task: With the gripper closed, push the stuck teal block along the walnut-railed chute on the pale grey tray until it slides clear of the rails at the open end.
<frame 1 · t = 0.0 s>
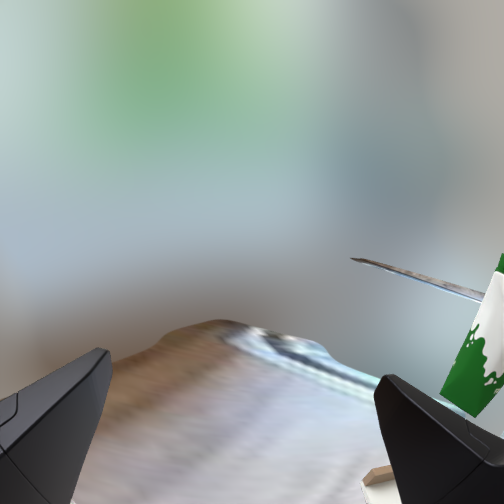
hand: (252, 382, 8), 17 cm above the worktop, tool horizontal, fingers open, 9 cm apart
milk carton: (464, 397, 29), on the worktop
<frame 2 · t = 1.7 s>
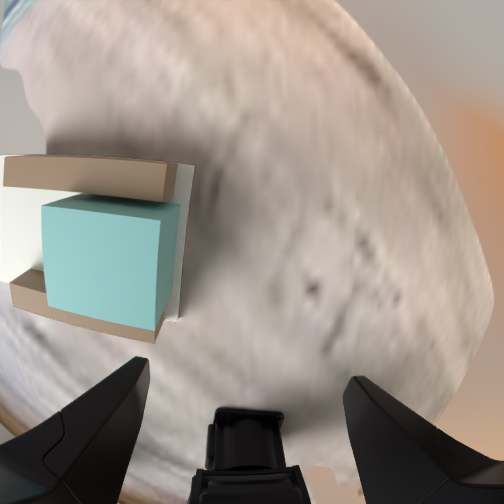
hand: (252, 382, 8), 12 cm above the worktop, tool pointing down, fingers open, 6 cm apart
block: (111, 254, 16), point 3 cm above the worktop, slide at 0.0 cm
chute: (49, 227, 18), on the worktop
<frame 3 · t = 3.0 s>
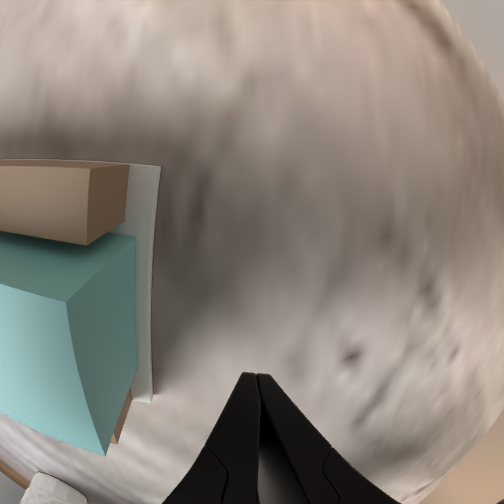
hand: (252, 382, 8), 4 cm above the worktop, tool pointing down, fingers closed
white cup: (61, 486, 19), on the worktop
block: (31, 324, 8), point 3 cm above the worktop, slide at 0.0 cm
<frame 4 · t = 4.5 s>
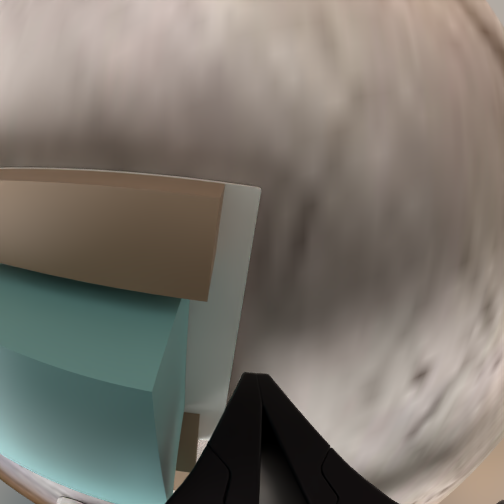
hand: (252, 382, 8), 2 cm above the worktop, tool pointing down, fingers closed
block: (62, 375, 7), point 3 cm above the worktop, slide at 1.1 cm, touching gripper
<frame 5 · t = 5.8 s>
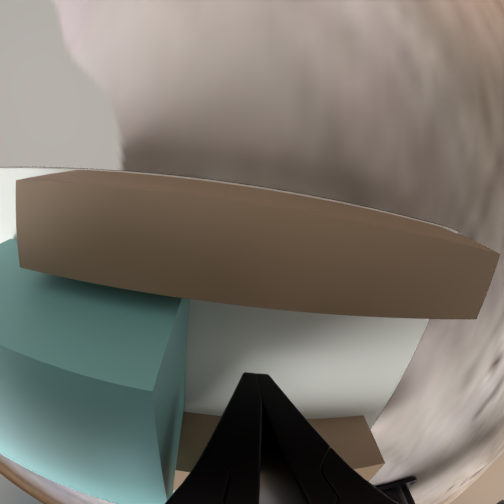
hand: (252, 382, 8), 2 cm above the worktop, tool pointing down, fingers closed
block: (62, 375, 7), point 3 cm above the worktop, slide at 8.6 cm, touching gripper
chute: (137, 329, 10), on the worktop
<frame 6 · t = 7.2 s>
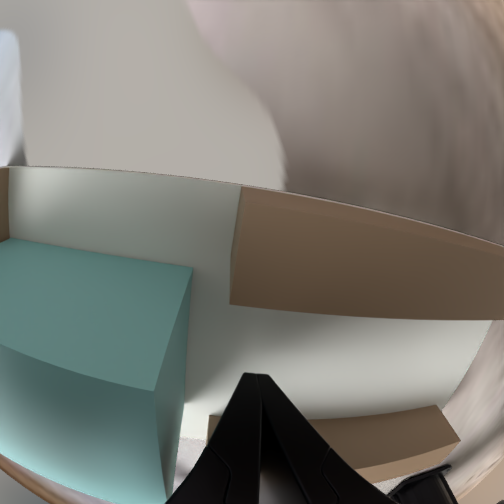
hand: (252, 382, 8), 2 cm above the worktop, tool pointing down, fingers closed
block: (62, 374, 7), point 3 cm above the worktop, slide at 13.5 cm, touching gripper
chute: (272, 347, 10), on the worktop
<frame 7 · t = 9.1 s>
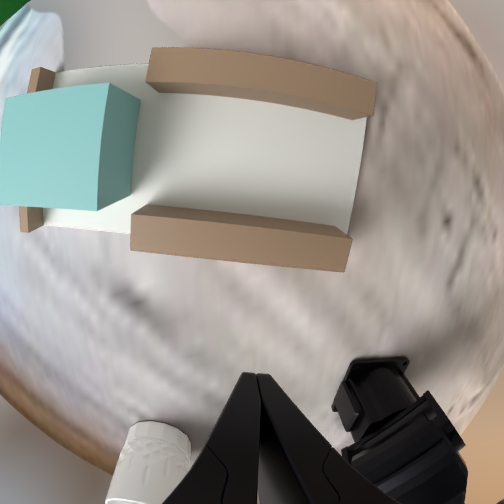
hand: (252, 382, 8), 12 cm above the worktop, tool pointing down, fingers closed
white cup: (160, 436, 26), on the worktop
block: (66, 147, 13), point 3 cm above the worktop, slide at 13.6 cm
chute: (184, 150, 17), on the worktop
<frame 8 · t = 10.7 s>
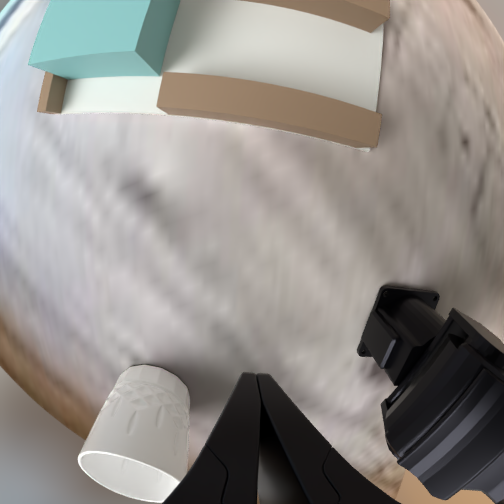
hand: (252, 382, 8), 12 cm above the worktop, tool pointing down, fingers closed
white cup: (154, 389, 23), on the worktop
block: (107, 24, 11), point 3 cm above the worktop, slide at 13.6 cm
chute: (217, 42, 15), on the worktop
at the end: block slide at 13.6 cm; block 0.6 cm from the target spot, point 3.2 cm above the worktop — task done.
